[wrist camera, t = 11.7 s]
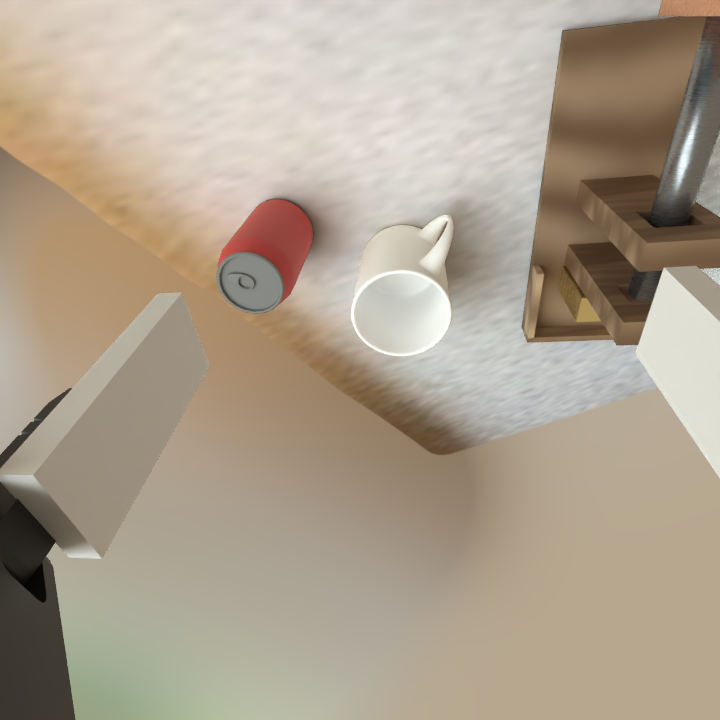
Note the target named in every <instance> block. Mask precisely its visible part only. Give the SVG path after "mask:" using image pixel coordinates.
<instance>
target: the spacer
mask: <svg viewBox="0 0 720 720" xmlns="http://www.w3.org/2000/svg"><path fill="white" fill-rule="evenodd" d="M558 290H559V292H560V294H561V296H562V297H563V299H564V301H565V303H566V305H567V306H568V308H569V310H570V312H571V314H572V315H573V317H574V319H575V321H576V322H595V321H601V320H600V318H599V317H598V315H597V314H596V312H595V311H594V309H593V307H592V306H591V304H590V303H589V301H588V300H587V298H586V296H585V295H584V293H583V292H582V290H581V289H580V287H579V286H578V284H577V282H576V281H575V279H574V278H573V276H572V275H571V273H570V272H569V270H568V268H567V267H566V266H561V271H560V277H559V282H558Z"/></svg>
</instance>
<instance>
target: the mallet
mask: <svg viewBox="0 0 720 720" xmlns="http://www.w3.org/2000/svg"><path fill="white" fill-rule="evenodd" d="M658 16H707V17H706V20H705V24H704V27H703V31H702V34H701V38H700V41H699V45H698V48H697V52H696V55H695V59H694V62H693V66H692V69H691V73H690V76H689V79H688V83H687V86H686V90H685V93H684V97H683V100H682V104H681V107H680V111H679V114H678V118H677V121H676V125H675V128H674V132H673V135H672V139H671V142H670V145H669V149H668V152H667V156H666V159H665V163H664V166H663V170H662V173H661V177H660V180H659V184H658V187H657V191H656V194H655V198H654V201H653V205H652V208H651V211H650V215H649V218H648V223H649V224H650V225H652V226H653V227H654V228H658V227H674V226H687V225H688V222H689V219H690V216H691V213H692V210H693V207H694V204H695V201H696V199H697V196H698V193H699V190H700V187H701V184H702V181H703V178H704V175H705V172H706V169H707V166H708V164H709V161H710V158H711V155H712V152H713V149H714V146H715V143H716V140H717V137H718V134H719V132H720V0H662V2H661V6H660V11H659V15H658ZM662 272H663V271H644V272H638V270H637V269H636V268H635V267H634V271H633V274H632V277H631V281H630V284H629V288H628V291H627V293H628V295H629V296H630V297H632V298H634V299H637V300H640V301H646V302H653V299H654V296H655V293H656V290H657V287H658V284H659V281H660V278H661V275H662Z"/></svg>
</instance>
